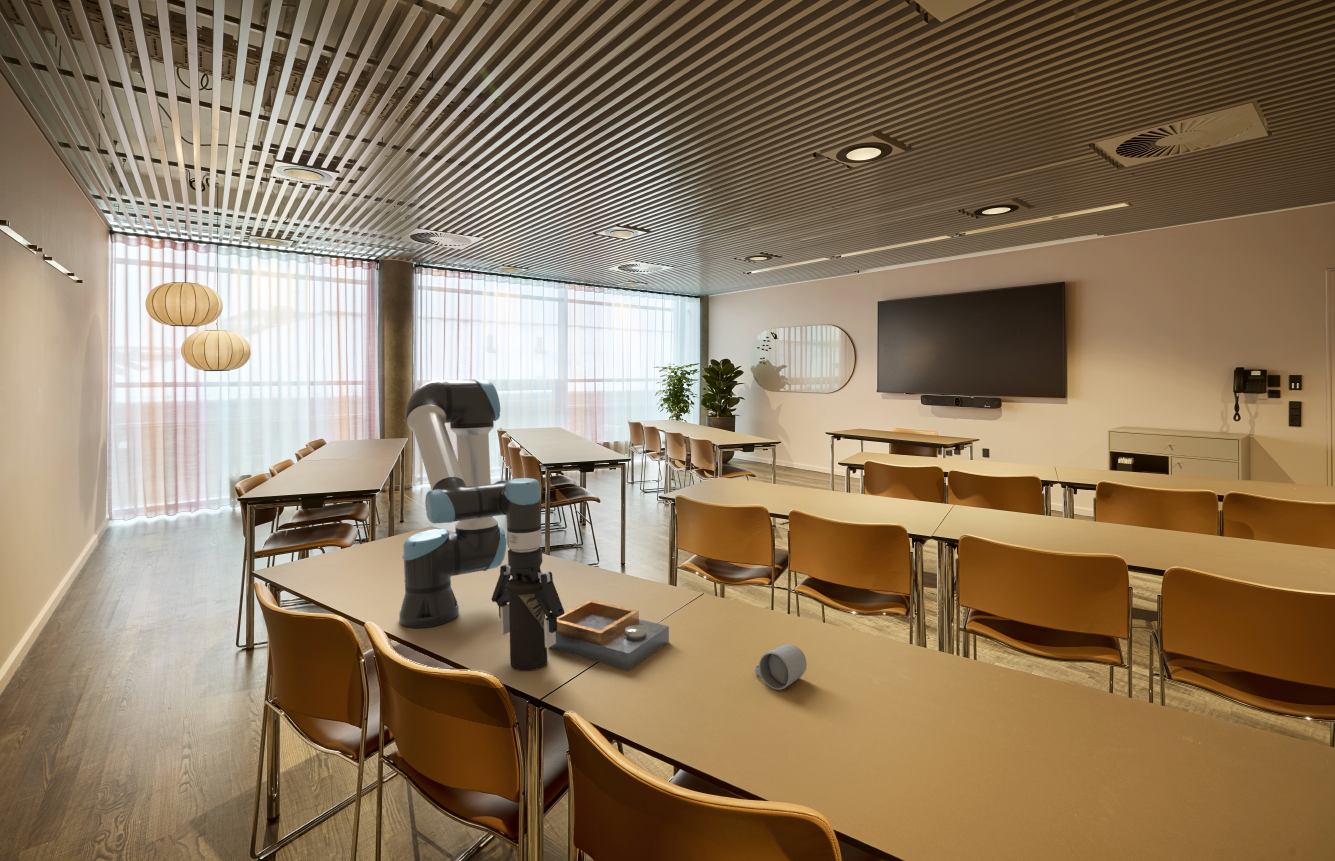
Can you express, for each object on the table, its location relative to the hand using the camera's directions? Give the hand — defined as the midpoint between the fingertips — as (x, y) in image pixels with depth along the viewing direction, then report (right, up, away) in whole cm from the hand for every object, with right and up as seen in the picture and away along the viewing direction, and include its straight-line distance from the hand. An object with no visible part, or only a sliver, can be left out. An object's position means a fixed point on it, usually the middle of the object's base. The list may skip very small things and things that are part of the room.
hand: (528, 638), depth 139 cm
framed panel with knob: (+17, -5, +10) cm, 21 cm away
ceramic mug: (+55, -6, -9) cm, 56 cm away
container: (0, -6, +1) cm, 6 cm away
